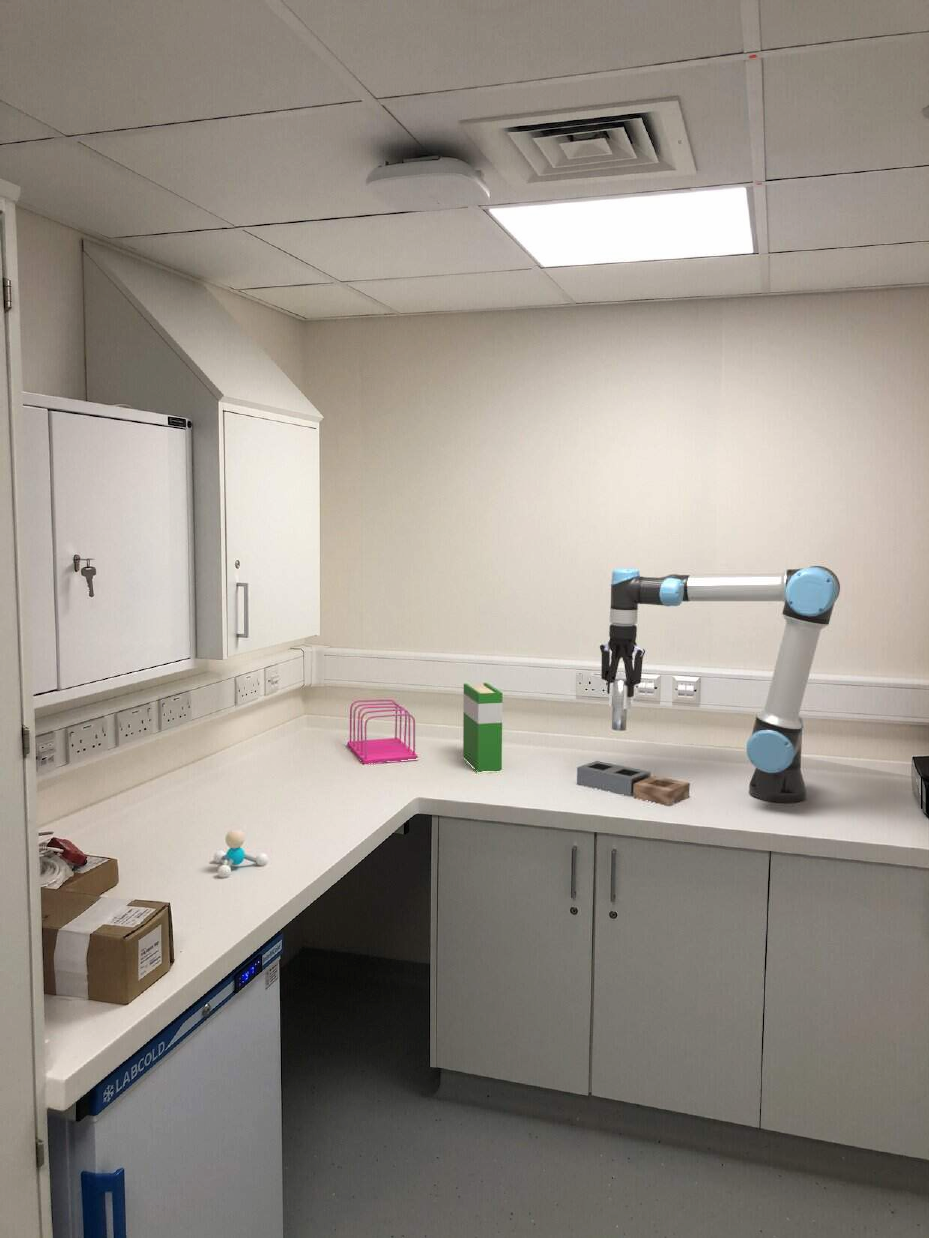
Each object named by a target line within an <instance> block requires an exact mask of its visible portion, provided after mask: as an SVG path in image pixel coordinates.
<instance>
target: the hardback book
mask: <svg viewBox="0 0 929 1238" xmlns="http://www.w3.org/2000/svg"><path fill="white" fill-rule="evenodd" d="M462 712H463V717H462V719H463V720H462V721H463V722H462V723H463V724H462V727H463V729H462V730H463V732H462V733H463V736H462V739H463V741H462V742H463V743H462V744H463V745H462V749H463V750H462V758H463V757H464V758H465V759H466V760H467V761H468V762H469V763H470V764H471V765H472V766H473V767H474V768H475V769H476V770H477V771H478V772H482V771H500V770H502V769H503V765H502V764H503V763H502V762H503V759H502V758H503V756H502V755H503V691H502V692H501V691H500V690H499V689H498V688H495V687H494V686H492V685H491V684H489V682H483V684H482V685H469V684H468V683H463V711H462Z"/></svg>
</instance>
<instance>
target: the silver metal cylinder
mask: <svg viewBox="0 0 929 1238" xmlns="http://www.w3.org/2000/svg"><path fill="white" fill-rule="evenodd" d="M625 684H627V682H626V678H615V679H614V686H613V706H612V713H611V718H612V719H611V729H612V730H614V731H618V732H619V731H621V732H622V731H623V732H624V731H627V715H628V709H623V702H624V686H625Z"/></svg>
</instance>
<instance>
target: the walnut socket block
mask: <svg viewBox="0 0 929 1238" xmlns="http://www.w3.org/2000/svg"><path fill="white" fill-rule="evenodd" d="M690 784H691V783H690V782H687V781H682V780H675V779H673V778H667V777H662V776H659V775H652V776H650V778H647V779H644V780H642V781H639V782H637V783H634V786H633V796H632V797H634V798H633V799H636V798H638V799H637V800H640V799H642V800H641V801H644V800H648V801H647V802H649V801H651V802H650V803H653V802H655V803H654V804H657V803H661V804H660V805H662V804H664V805H663V806H666V805H667V807H670V806H673V805H674V804H673V803H675V804H677V803H680V802H682V801H683V800H686V799H688V797H689V798H690ZM681 800H682V801H681ZM672 804H673V805H672Z"/></svg>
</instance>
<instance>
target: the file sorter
mask: <svg viewBox="0 0 929 1238" xmlns="http://www.w3.org/2000/svg"><path fill="white" fill-rule="evenodd" d="M371 702H374V703H371ZM378 702H379V703H378ZM357 703H361V704H358V705H356V706H355V708H354V709H353V706H354V705H355V704H357ZM359 707H361V709H360V710H359V711H358V715H357V733H356V711H357V709H358V708H359ZM366 709H374V710H367V711H365V712H363V713H362V715H361V712H362V711H363V710H366ZM375 709H376V710H375ZM398 711H399V713H398ZM402 711H404V713H402ZM384 712H386V713H387V712H395V713H393V714H382V715H381V714H379V715H372V716H371V715H370V716H369V717H367V719H366V720H365V722H364V731H363V719H364V716H365V715H367V714H371V713H372V714H373V713H384ZM388 717H395V722H394V726H395V727H394V728H395V729H394V730H395V731H394V737H387V738H376V739H367V726H368V725H367V723H368V722H369V720H371V719H375V718H388ZM398 717H399V735H398ZM402 717H404V731H403V733H404V734H403V735H404V737H403V741H402V719H403V718H402ZM352 718H353V721H352ZM411 719H412V724H413V725H412V728H413V729H412V733H413V734H412V735H413V736H412V738H413V742H412V744H413V745H412V746H413V747H412V748H413V749H412V748H411ZM352 722H353V723H352ZM407 723H408V725H407ZM352 724H353V725H352ZM352 727H353V728H352ZM407 727H408V734H407ZM352 730H353V731H352ZM363 732H364V736H363ZM352 733H353V736H352ZM356 735H357V739H356ZM407 735H408V736H407ZM398 736H399V738H398ZM352 737H353V739H352ZM363 737H364V739H363ZM407 737H408V742H407ZM407 743H408V744H407ZM347 746H348V747H349V748H348V747H347ZM346 747H347V748H348V749H349V750H350V749H351V750H352V751H351V750H350V751H351V752H352V753H353V752H354V753H353V754H355V755H356V756H357V757H358V758H359V759H360V760H361V761H362V762H363V764H369V763H370V764H369V765H372V764H371V763H379V762H387V761H401V760H408V759H416V758H418V759H419V756H418V754H417V753H416V719H415V717H414V716H413V715H412V714H410V712H409V711H408V710H407V709H406V708H405V707H404V706H402V705H400V704H398V703H397V702H396V701H395V700H393V699H366V700H365V699H364V700H363V699H361V700H360V699H359V700H355V701H353V702H352V703H351V705H350V708H349V741H347V743H346ZM355 755H354V756H355ZM356 756H355V757H356ZM357 757H356V758H357ZM358 758H357V759H358ZM359 759H358V760H359ZM360 760H359V761H360ZM361 761H360V762H361ZM362 762H361V763H362ZM363 764H362V765H363Z"/></svg>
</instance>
